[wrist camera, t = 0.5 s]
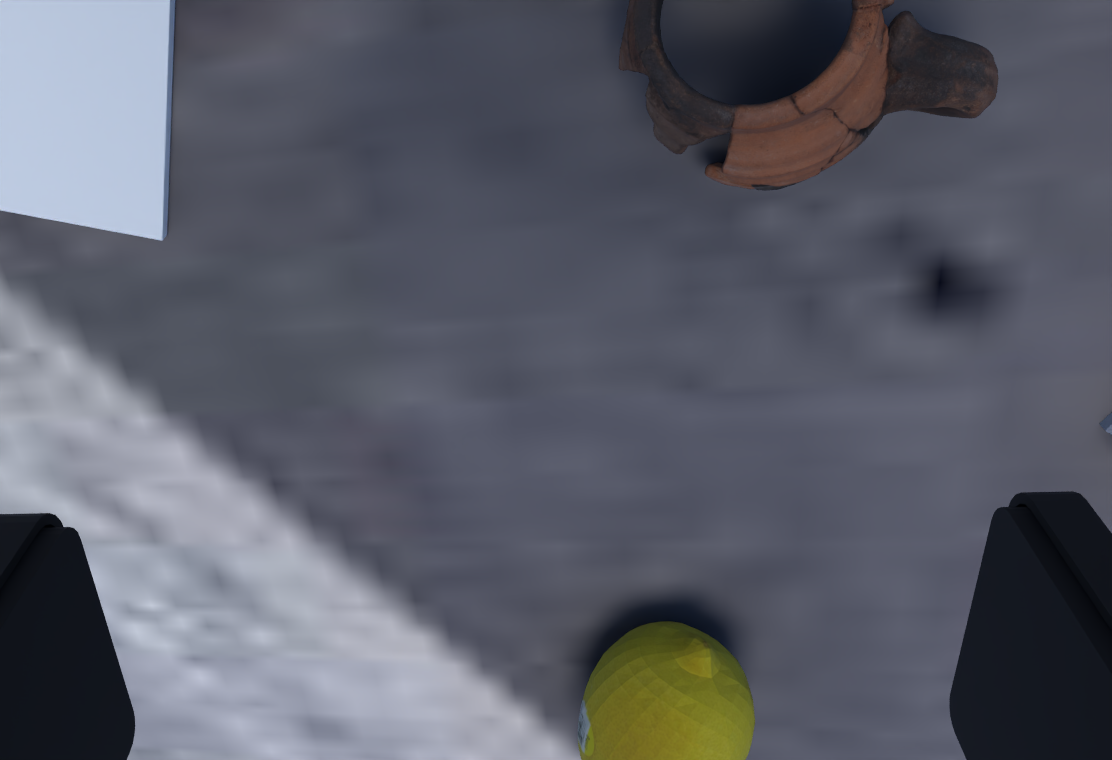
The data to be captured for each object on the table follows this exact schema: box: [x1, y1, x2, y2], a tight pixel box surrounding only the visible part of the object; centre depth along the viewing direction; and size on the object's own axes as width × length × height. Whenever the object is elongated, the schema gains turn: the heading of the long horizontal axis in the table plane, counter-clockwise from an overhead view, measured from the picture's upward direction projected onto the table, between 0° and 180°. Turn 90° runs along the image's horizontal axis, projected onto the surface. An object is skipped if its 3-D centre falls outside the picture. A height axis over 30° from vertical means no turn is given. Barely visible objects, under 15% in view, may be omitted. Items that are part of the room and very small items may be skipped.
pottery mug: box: [619, 0, 998, 190], centre depth 35 cm, size 12×10×8 cm
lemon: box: [578, 621, 755, 760], centre depth 48 cm, size 11×8×8 cm
